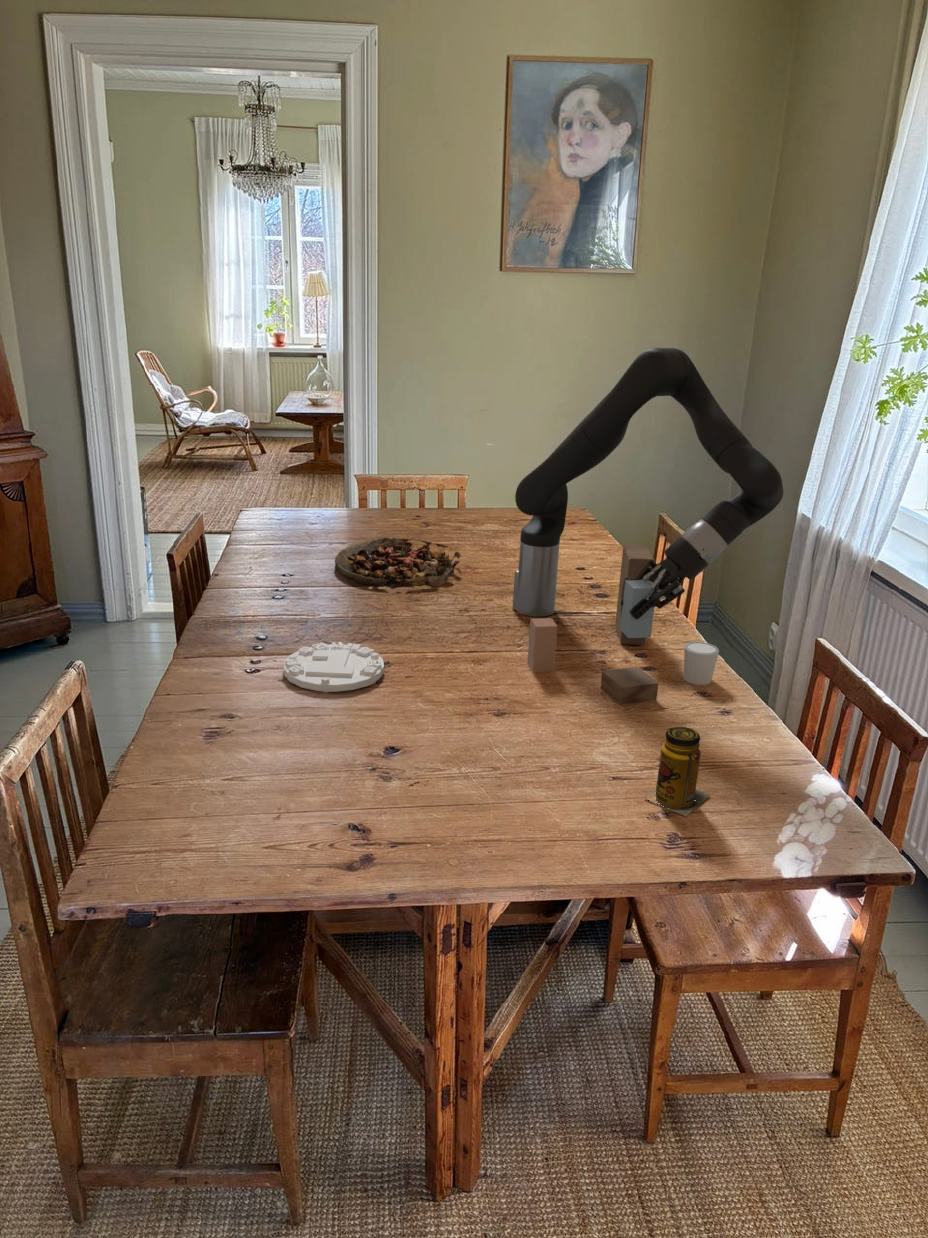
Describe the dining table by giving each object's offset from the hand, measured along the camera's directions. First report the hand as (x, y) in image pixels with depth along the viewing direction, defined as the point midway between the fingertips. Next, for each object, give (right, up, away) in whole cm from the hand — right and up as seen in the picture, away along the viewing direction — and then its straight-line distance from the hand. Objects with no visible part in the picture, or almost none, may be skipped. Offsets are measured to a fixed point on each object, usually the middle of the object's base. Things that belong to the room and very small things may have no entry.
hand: (628, 611), depth 178 cm
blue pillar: (+2, -4, +2) cm, 5 cm away
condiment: (+3, -30, -28) cm, 42 cm away
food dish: (-49, +12, +74) cm, 90 cm away
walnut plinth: (+1, -17, +7) cm, 18 cm away
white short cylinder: (+17, -14, +15) cm, 26 cm away
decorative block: (+6, -6, +35) cm, 36 cm away
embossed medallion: (-57, -13, +11) cm, 60 cm away
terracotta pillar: (-15, -11, +17) cm, 26 cm away
